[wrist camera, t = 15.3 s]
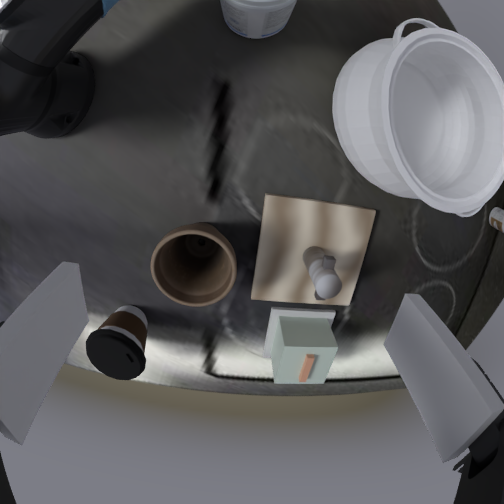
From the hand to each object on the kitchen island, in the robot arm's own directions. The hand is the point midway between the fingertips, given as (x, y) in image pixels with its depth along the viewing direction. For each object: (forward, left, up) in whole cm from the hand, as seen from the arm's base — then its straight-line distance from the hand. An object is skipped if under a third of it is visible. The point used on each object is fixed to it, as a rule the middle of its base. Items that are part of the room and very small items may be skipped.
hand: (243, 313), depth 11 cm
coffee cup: (-18, -29, -35) cm, 49 cm away
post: (+13, -12, -35) cm, 39 cm away
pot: (+23, +13, -35) cm, 44 cm away
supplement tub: (-1, +25, -35) cm, 43 cm away
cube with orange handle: (+14, -29, -34) cm, 47 cm away
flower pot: (-5, -12, -35) cm, 37 cm away
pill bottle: (+54, +1, -35) cm, 64 cm away
